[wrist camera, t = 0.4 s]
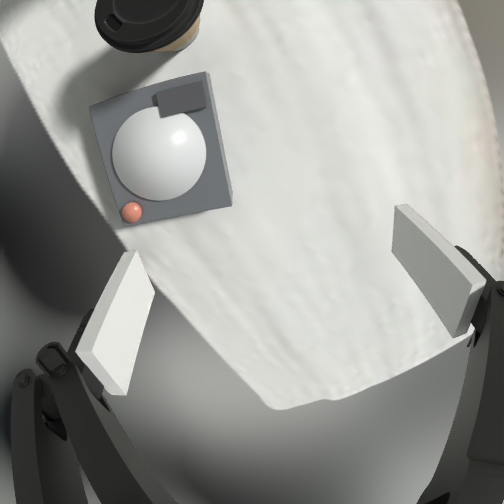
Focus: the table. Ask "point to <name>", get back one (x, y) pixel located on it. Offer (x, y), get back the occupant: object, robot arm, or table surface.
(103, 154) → the grey dome button box
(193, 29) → the coffee cup
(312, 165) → the table surface
